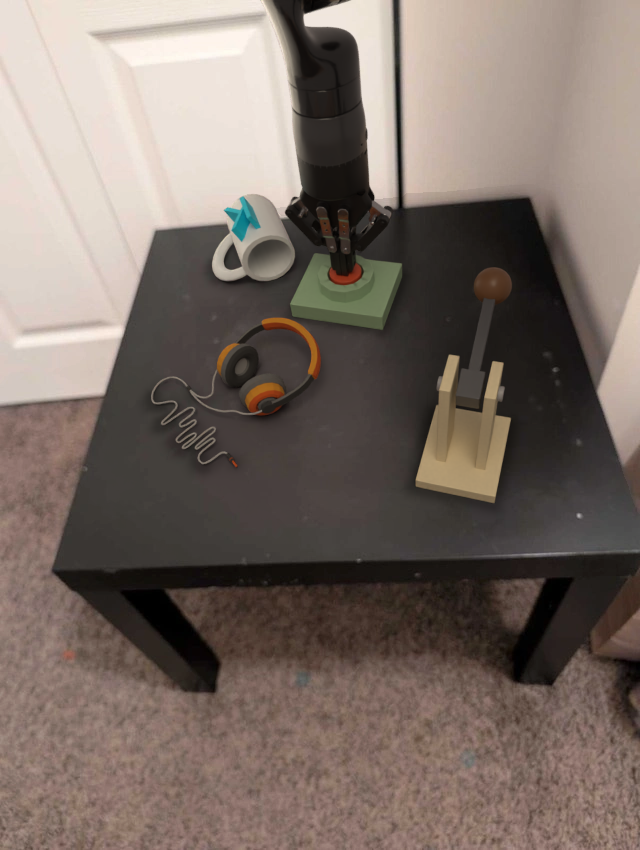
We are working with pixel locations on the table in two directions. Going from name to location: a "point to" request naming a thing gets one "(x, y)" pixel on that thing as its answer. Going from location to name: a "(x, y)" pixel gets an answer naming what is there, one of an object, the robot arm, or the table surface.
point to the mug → (255, 241)
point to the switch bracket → (465, 440)
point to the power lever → (482, 334)
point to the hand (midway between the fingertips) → (344, 271)
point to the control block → (347, 293)
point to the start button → (346, 280)
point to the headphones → (250, 380)
